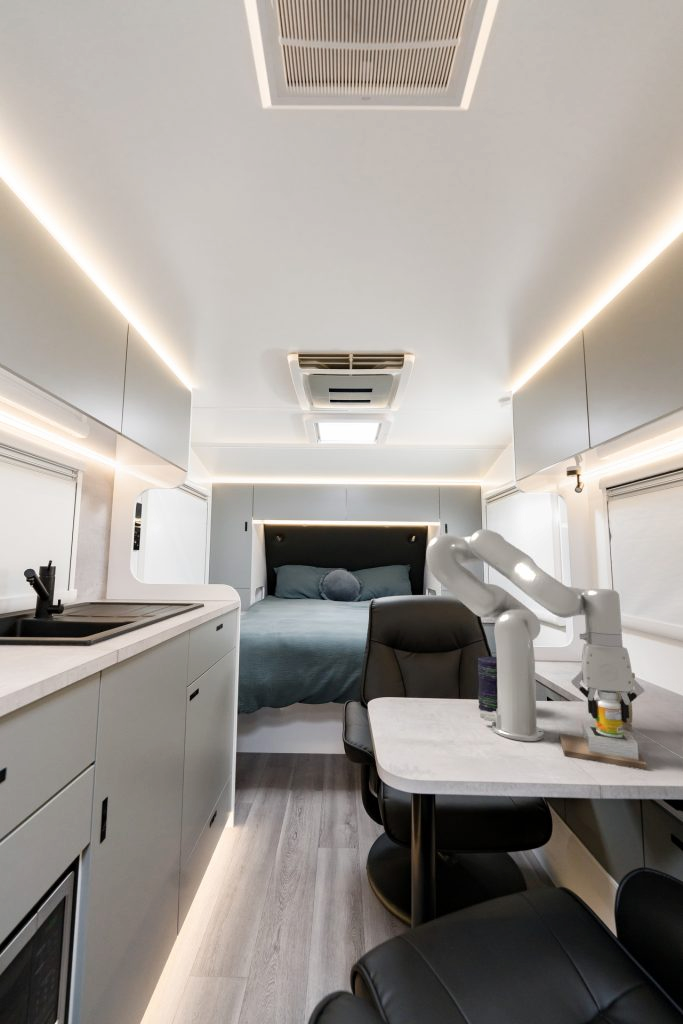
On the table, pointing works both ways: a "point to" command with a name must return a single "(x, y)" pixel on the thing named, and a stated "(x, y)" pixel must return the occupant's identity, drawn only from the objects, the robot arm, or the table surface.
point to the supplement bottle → (608, 714)
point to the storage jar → (487, 683)
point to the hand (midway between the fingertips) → (608, 718)
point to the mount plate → (578, 749)
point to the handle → (629, 720)
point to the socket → (610, 744)
